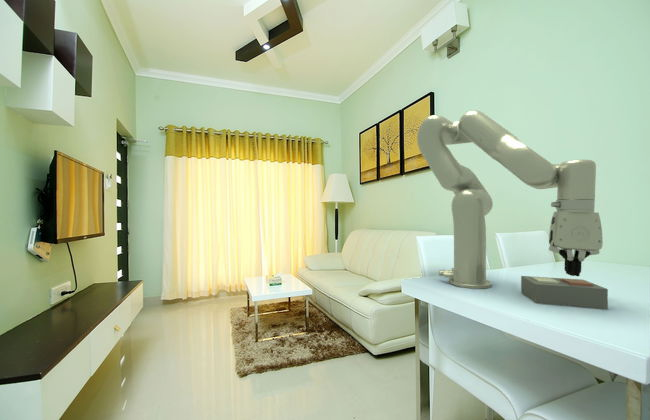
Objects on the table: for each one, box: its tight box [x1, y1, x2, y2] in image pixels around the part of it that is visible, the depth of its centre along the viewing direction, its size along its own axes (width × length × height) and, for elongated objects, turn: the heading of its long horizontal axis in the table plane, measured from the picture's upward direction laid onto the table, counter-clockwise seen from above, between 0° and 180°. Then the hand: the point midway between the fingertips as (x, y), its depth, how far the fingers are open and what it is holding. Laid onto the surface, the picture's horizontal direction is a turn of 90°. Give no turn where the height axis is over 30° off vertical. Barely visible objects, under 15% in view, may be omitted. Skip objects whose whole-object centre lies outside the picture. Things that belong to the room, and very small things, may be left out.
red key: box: [560, 277, 592, 286], centre depth 74 cm, size 5×5×3 cm
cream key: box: [532, 276, 559, 284], centre depth 77 cm, size 5×5×3 cm
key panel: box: [520, 275, 609, 310], centre depth 75 cm, size 15×10×5 cm, turn 73°
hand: (572, 274), depth 75 cm, fingers closed
